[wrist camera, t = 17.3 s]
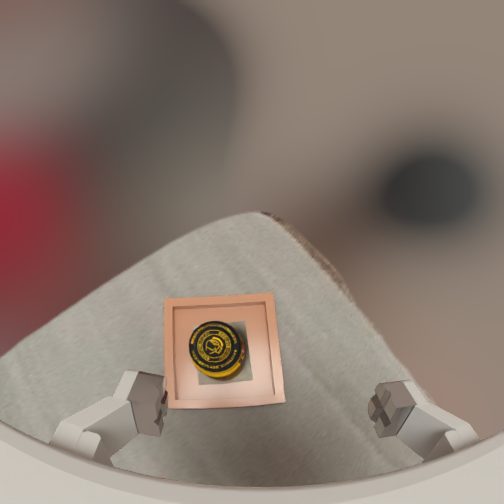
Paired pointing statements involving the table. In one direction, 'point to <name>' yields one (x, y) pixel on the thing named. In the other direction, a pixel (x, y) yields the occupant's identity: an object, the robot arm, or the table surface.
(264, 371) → the tray
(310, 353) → the table surface
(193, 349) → the condiment
